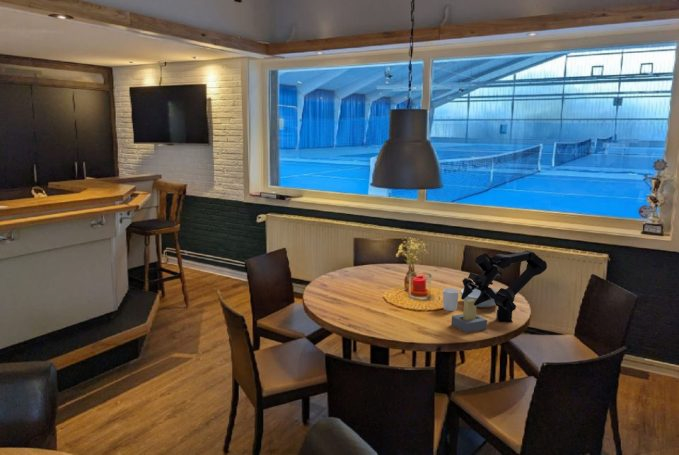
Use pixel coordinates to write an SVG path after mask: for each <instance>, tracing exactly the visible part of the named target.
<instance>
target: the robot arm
mask: <svg viewBox="0 0 679 455" xmlns="http://www.w3.org/2000/svg"><path fill="white" fill-rule="evenodd" d="M521 262H525V263H527V264H526V267H525V268H526V269H525V270H524V271H523V272H522V273H520V275H519V276H518V277H517V278H516V279H515V280H514V281H513V282H512V283H511V284H510V285H509V286H508V287H507V288H503V287H501V288H499V289H498V290H497V291H498V292H496V293H495V292H494V291H493V290H494V289H493V288H491V287H490V285H491V286H492V285H493V284H494V283H493V281H494V280H495V278H497V276H501V277H502V276H503V274H502V269H507V268H509V267H511V265H513V264H517V263H521ZM474 263H475V264H476V265H477V267H479V269H480V270H481V271H482V272H483V273H478V274H477V273H474V272H472V271H471V272H470V273H469V274H468V277H466V278H465V277H464V278H463V280H462V281H461V282H462V285H463V287H464V288H463V289H464V291H463V294H462V296H461V297H460V299H461V300H463V299H465V298H466V297H467V296H468V295H469V294H471V293H472V292H473V291H472V290H474V289H477V290H480V291H481V292H480V296H479V297H478V298H477V300H476V301H475V303H474V305H475V306H476V305H478V304H480V303H482V302H485V301H487V300H491V299H494V301H495V307H497V309H496V319H497V320H498V322H499V323H514V322H513V321H514V320H513V311H515V310H516V308H517V305H516V304H515V302H514V301H515V298H516V295H517V294H518V293H519V292H520V291H521V290H522V289H523V288H524V287H525V286H526V285H527V284H528V283H529V282H530V281H531V280H532V279H533V278H535V276H540V275H541V274H542V273H544V272H545V271H546V270H547V268H548V265H547V264H548V263H547V261H545V260H544V259H543V258H541V257H539V256H538V255H537V254H536V253H535V252H534V251H531V250H524V251H521V252H514V253H511V254H502V253H501V254H498V253H497V254H494V255H493V256H490V255H489V254H488V253H486V252H483V254H479V255H478V256H476V258H475V260H474ZM499 268H500V269H499ZM492 289H493V290H492ZM463 301H464V300H463Z"/></svg>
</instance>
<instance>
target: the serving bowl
mask: <svg viewBox="0 0 679 455" xmlns="http://www.w3.org/2000/svg"><path fill="white" fill-rule="evenodd" d="M492 290H493V291H494V292H495V293H496V292H498V291H499V290H496V289H493V288H492ZM463 291H464V288H462V289H461V290H460V295H461V297H462V294H463ZM472 291H473V292H472V293H471V294H469V295H468V296H467V297H466V298H465V299H463V302H464V301H465V300H471V299H473V300H477V298H478V297H479V296H480V292H481V291H480V290H477V289H474V290H472ZM493 306H496V304H495V301H494V299H491V300H487V301H485V302H482V303H480V304H478V305H477V307H476V308H488V307H489V308H490V307H493Z"/></svg>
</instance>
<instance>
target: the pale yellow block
mask: <svg viewBox="0 0 679 455" xmlns="http://www.w3.org/2000/svg"><path fill="white" fill-rule="evenodd" d="M475 301H476V300H473V299H471V300H465V301H464V300H463V313H462V314H463V320H464V321H468V320H474V319H476V315H477V308H478V307H477V305H476V306H475V305H474V303H475Z"/></svg>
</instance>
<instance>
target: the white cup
mask: <svg viewBox="0 0 679 455" xmlns="http://www.w3.org/2000/svg"><path fill="white" fill-rule="evenodd" d="M459 293H460V292H459V290H458V289H455V288H451V287H450V288H444V289H443V291H442V305H443V307H442V308H443V310H444V311H447V312H455V311H457V307H458V303H459V302H458V300H459Z"/></svg>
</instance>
